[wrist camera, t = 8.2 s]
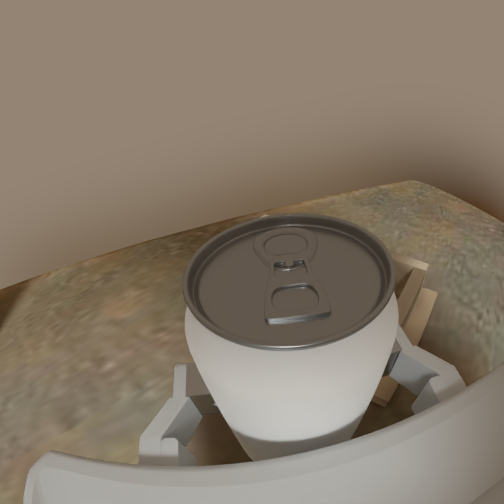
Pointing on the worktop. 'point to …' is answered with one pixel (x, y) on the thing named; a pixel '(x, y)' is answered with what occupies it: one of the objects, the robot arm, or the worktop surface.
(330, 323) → the can
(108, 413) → the worktop surface
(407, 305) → the can holder
